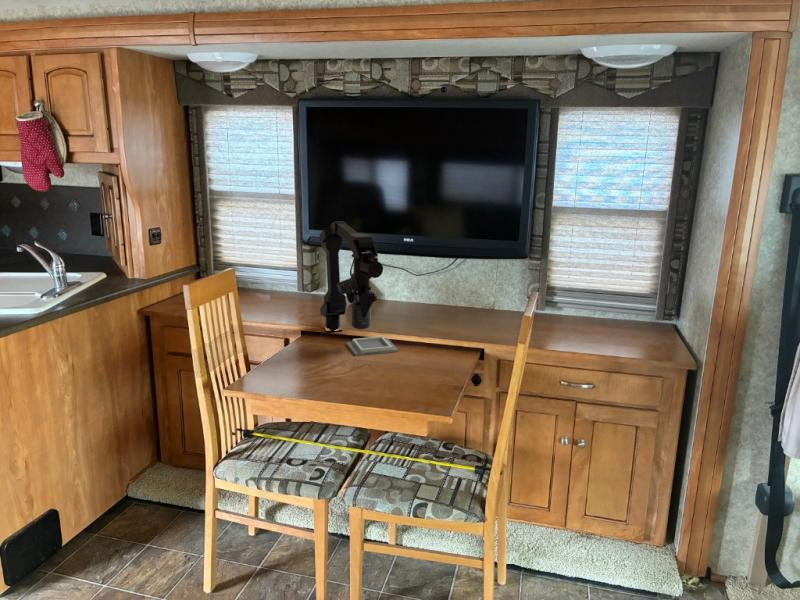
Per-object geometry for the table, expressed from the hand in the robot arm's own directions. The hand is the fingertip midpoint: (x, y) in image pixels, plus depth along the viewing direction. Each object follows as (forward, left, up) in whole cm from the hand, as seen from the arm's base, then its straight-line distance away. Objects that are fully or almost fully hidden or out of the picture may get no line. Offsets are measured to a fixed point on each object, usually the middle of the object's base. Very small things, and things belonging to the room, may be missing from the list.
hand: (361, 314), depth 217 cm
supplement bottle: (0, 0, -5) cm, 5 cm away
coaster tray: (0, +4, -13) cm, 14 cm away
